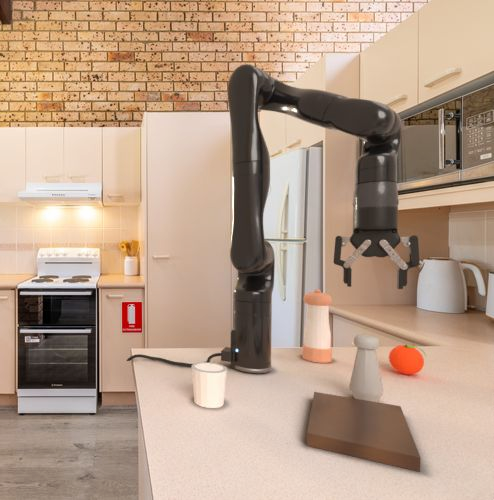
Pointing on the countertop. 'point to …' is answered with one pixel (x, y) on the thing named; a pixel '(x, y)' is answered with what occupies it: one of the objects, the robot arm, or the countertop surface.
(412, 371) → the clementine
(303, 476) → the countertop surface
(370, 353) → the salt shaker
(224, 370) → the white short cylinder
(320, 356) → the pepper shaker
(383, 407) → the cutting board
